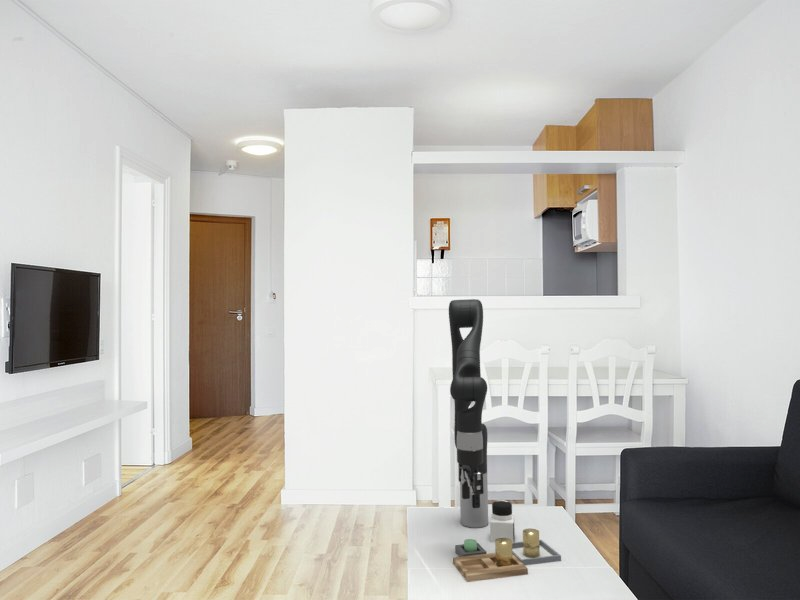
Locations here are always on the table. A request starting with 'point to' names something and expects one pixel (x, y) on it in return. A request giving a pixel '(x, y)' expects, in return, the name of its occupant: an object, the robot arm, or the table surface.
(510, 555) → the cylinder
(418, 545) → the table surface
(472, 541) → the button
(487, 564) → the tray
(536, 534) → the cylinder
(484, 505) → the robot arm
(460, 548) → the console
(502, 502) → the medicine bottle
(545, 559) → the tray
